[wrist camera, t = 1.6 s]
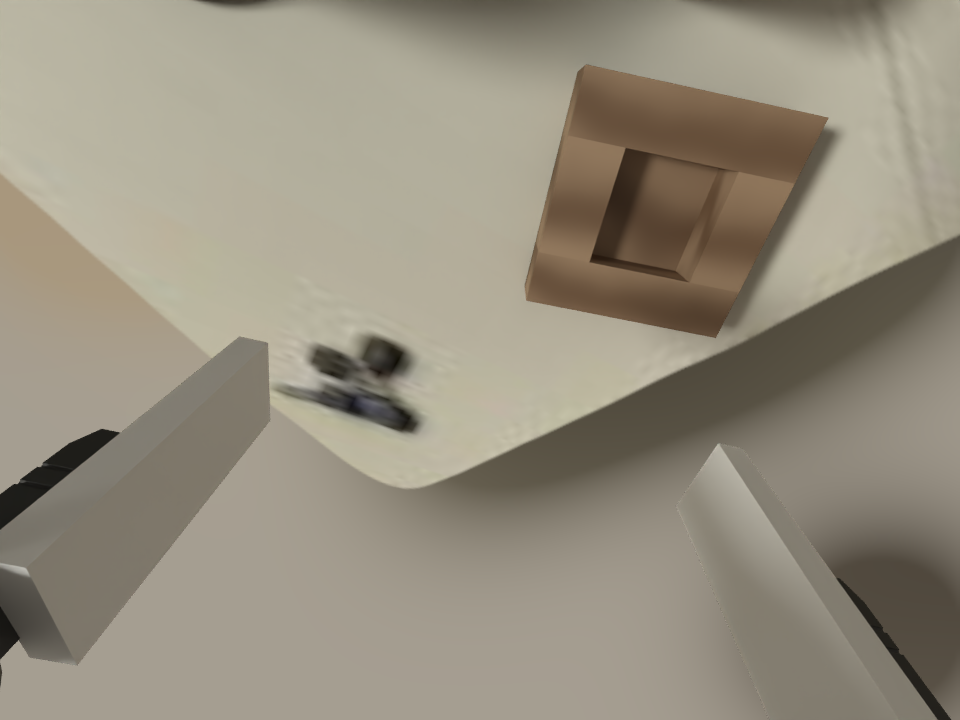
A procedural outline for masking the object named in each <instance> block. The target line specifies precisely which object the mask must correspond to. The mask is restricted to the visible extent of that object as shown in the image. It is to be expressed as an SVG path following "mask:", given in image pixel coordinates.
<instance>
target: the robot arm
mask: <svg viewBox="0 0 960 720" xmlns="http://www.w3.org/2000/svg"><path fill="white" fill-rule="evenodd" d="M269 421H270V396H269V363H268V343H266V342H262V341H258V340H253V339H249V338H244V337H238V338H237V339H236V340H235V341H233V342H232V343H231V344H230V345H228V346H227V347H226V348H225V349H223V350H222V351H221V352H220V353H218V354H217V355H216V356H215V357H214V358H212V359H211V360H210V361H209V362H207V363H206V364H205V365H204V366H202V367H201V368H200V369H199V370H197V371H196V372H195V373H194V374H193V375H191V376H190V377H189V378H188V379H186V380H185V381H184V382H183V383H181V385H179V386H178V387H176V388H175V389H174V390H173V391H172V392H170V393H169V394H168V395H167V396H165V397H164V398H163V399H162V400H160V401H159V402H158V403H157V404H155V405H154V406H153V407H152V408H150V410H148V411H147V412H146V413H144V414H143V415H142V416H141V417H139V418H138V419H137V420H136V421H134V422H133V423H132V424H131V425H130V426H128V427H127V428H126V429H124V430H123V431H122V432H121V433H119V432H114V431H109V430H105V429H100V430H98V431H96V432H94V433H91V434H89V435H87V436H85V437H83V438H80V439H78V440H76V441H73V442H71V443H69V444H68V445H67V446H65V447H64V448H62V449H61V450H60V451H58V452H57V453H55V454H54V455H53V456H51V457H50V458H49V459H48V460H46V461H45V462H43V465H42V466H41V467H37V468H35V469H34V470H32V471H31V472H30V473H28V474H27V475H26V476H24V477H23V478H22V479H20V482H19V483H18V484H14V485H12V486H11V487H9V488H8V489H7V490H5V491H4V492H3V493H1V494H0V659H1V658H2V657H3V656H4V655H5V654H6V653H7V652H8V651H9V649H10V648H11V647H12V646H13V645H14V644H15V643H16V642H17V641H18V640H19V641H20V643H21V644H22V646H23V648H24V649H25V651H26V652H27V654H28V656H29V657H30V658H36V659H42V660H48V661H54V662H60V663H66V664H72V665H78V664H79V662H80V661H81V660H82V659H83V657H84V656H85V655H86V653H87V652H88V651H89V650H90V648H91V647H92V646H93V645H94V643H95V642H96V641H97V640H98V638H99V637H100V636H101V635H102V633H103V632H104V631H105V629H106V628H107V627H108V626H109V624H110V623H111V622H112V621H113V619H114V618H115V617H116V615H117V614H118V613H119V612H120V610H121V609H122V608H123V607H124V605H125V604H126V603H127V601H128V600H129V599H130V598H131V596H132V595H133V594H134V593H135V591H136V590H137V589H138V588H139V586H140V585H141V584H142V583H143V581H144V580H145V579H146V577H147V576H148V575H149V574H150V572H151V571H152V570H153V568H154V567H155V566H156V565H157V563H158V562H159V561H160V560H161V558H162V557H163V556H164V555H165V553H166V552H167V551H168V550H169V548H170V547H171V546H172V544H173V543H174V542H175V540H176V539H177V538H178V537H179V536H180V534H181V533H182V532H183V531H184V529H185V528H186V527H187V525H188V524H189V523H190V522H191V520H192V519H193V518H194V517H195V515H196V514H197V513H198V511H199V510H200V509H201V508H202V506H203V505H204V504H205V503H206V501H207V500H208V499H209V497H210V496H211V495H212V494H213V492H214V491H215V490H216V489H217V487H218V486H219V485H220V484H221V482H222V481H223V480H224V479H225V477H226V476H227V475H228V473H229V472H230V471H231V470H232V468H233V467H234V466H235V464H236V463H237V462H238V461H239V459H240V458H241V457H242V456H243V454H244V453H245V452H246V451H247V449H248V448H249V447H250V445H251V444H252V443H253V442H254V440H255V439H256V438H257V436H258V435H259V434H260V433H261V431H262V430H263V429H264V428H265V427H266V425H267V424H268V423H269ZM676 508H677V510H678V513H679V515H680V517H681V519H682V522H683V524H684V526H685V528H686V531H687V533H688V535H689V538H690V540H691V542H692V544H693V547H694V549H695V551H696V554H697V556H698V558H699V561H700V563H701V565H702V567H703V570H704V572H705V574H706V577H707V579H708V581H709V583H710V586H711V588H712V590H713V593H714V595H715V597H716V599H717V602H718V604H719V606H720V609H721V611H722V613H723V615H724V618H725V620H726V622H727V625H728V627H729V629H730V631H731V634H732V636H733V638H734V640H735V643H736V645H737V647H738V650H739V652H740V654H741V656H742V659H743V661H744V663H745V666H746V668H747V670H748V672H749V675H750V677H751V679H752V681H753V684H754V686H755V689H756V691H757V693H758V695H759V698H760V700H761V702H762V704H763V707H764V709H765V711H766V714H767V716H768V718H769V720H951V719H950V717H949V716H948V715H947V713H946V712H945V711H944V709H943V708H942V707H941V705H940V704H939V703H938V702H937V700H936V698H935V697H934V696H933V694H932V693H931V692H930V690H929V689H928V688H927V686H926V685H925V684H924V682H923V681H922V680H921V678H920V677H919V676H918V674H917V673H916V672H915V670H914V669H913V668H912V666H911V665H910V663H909V662H908V661H907V660H906V658H905V657H904V655H901V654H899V651H898V650H899V649H898V647H897V646H896V645H895V644H894V642H893V641H892V639H891V638H890V636H889V635H888V634H887V633H884V632H883V627H882V626H881V624H880V623H879V622H878V620H877V619H876V618H875V616H874V615H873V614H872V612H871V611H870V609H869V608H868V607H867V605H866V604H865V603H864V602H863V601H862V600H861V599H860V598H859V597H858V596H857V595H856V594H855V593H854V592H853V591H852V590H851V589H850V588H849V587H848V586H847V585H846V584H845V583H844V582H843V581H841V579H839V578H835V576H834V575H833V573H832V572H831V571H830V569H829V568H828V567H827V565H826V564H825V562H824V561H823V560H822V558H821V557H820V555H819V554H818V553H817V551H816V550H815V548H814V547H813V546H812V544H811V543H810V542H809V540H808V539H807V537H806V536H805V534H804V533H803V532H802V530H801V529H800V528H799V526H798V525H797V524H796V522H795V521H794V519H793V518H792V516H791V515H790V514H789V512H788V511H787V510H786V508H785V507H784V505H783V504H782V503H781V501H780V500H779V498H778V497H777V496H776V494H775V493H774V491H773V490H772V489H771V487H770V486H769V485H768V483H767V482H766V480H765V479H764V477H763V476H762V475H761V473H760V472H759V471H758V469H757V468H756V466H755V465H754V464H753V462H752V461H751V459H750V458H749V457H748V455H747V454H746V452H745V451H744V450H743V449H742V448H738V447H733V446H728V445H724V444H719V443H718V445H717V446H716V447H715V449H714V450H713V452H712V453H711V455H710V456H709V458H708V459H707V461H706V462H705V464H704V465H703V467H702V468H701V470H700V471H699V473H698V474H697V475H696V477H695V479H694V480H693V481H692V483H691V484H690V486H689V487H688V489H687V490H686V492H685V493H684V495H683V496H682V498H681V499H680V500H679V502H678V503H677V505H676ZM1 676H2V670H1V665H0V685H1Z"/></svg>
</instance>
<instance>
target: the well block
mask: <svg viewBox="0 0 960 720" xmlns="http://www.w3.org/2000/svg"><path fill="white" fill-rule="evenodd" d="M827 120H828V118H827V117H823V116H818V115H814V114H809V113H805V112H800V111H796V110H791V109H786V108H782V107H777V106H773V105H768V104H764V103H759V102H755V101H750V100H745V99H741V98H736V97H732V96H727V95H723V94H718V93H714V92H709V91H705V90H700V89H695V88H691V87H686V86H682V85H677V84H673V83H668V82H664V81H659V80H654V79H650V78H645V77H641V76H636V75H632V74H627V73H623V72H618V71H613V70H609V69H604V68H600V67H595V66H591V65H585V66H584V67H583V68H582V69H580V70H579V71H578V73H577V77H576V81H575V85H574V89H573V93H572V97H571V101H570V105H569V109H568V113H567V117H566V121H565V125H564V129H563V133H562V137H561V141H560V145H559V149H558V154H557V158H556V162H555V166H554V170H553V174H552V178H551V182H550V186H549V190H548V194H547V198H546V202H545V206H544V210H543V214H542V218H541V222H540V226H539V230H538V234H537V238H536V242H535V246H534V250H533V255H532V259H531V263H530V267H529V271H528V275H527V279H526V283H525V293H526V300H527V301H532V302H537V303H542V304H547V305H552V306H557V307H562V308H567V309H572V310H577V311H582V312H587V313H592V314H598V315H603V316H608V317H613V318H618V319H623V320H628V321H633V322H638V323H643V324H648V325H653V326H658V327H663V328H668V329H674V330H679V331H684V332H689V333H694V334H699V335H704V336H709V337H714V338H716V336H717V334H718V333H719V331H720V329H721V327H722V325H723V323H724V321H725V319H726V317H727V315H728V313H729V311H730V309H731V307H732V305H733V303H734V301H735V299H736V297H737V295H738V293H739V292H740V290H741V288H742V286H743V284H744V282H745V280H746V278H747V276H748V274H749V272H750V270H751V268H752V266H753V264H754V262H755V260H756V258H757V256H758V254H759V253H760V251H761V249H762V247H763V245H764V243H765V241H766V239H767V237H768V235H769V233H770V231H771V229H772V227H773V225H774V223H775V221H776V219H777V217H778V215H779V213H780V212H781V210H782V208H783V206H784V204H785V202H786V200H787V198H788V196H789V194H790V192H791V190H792V188H793V186H794V184H795V182H796V180H797V178H798V176H799V174H800V173H801V171H802V169H803V167H804V165H805V163H806V161H807V159H808V157H809V155H810V153H811V151H812V149H813V147H814V145H815V143H816V141H817V139H818V137H819V135H820V134H821V132H822V130H823V128H824V126H825V124H826V122H827Z"/></svg>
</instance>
